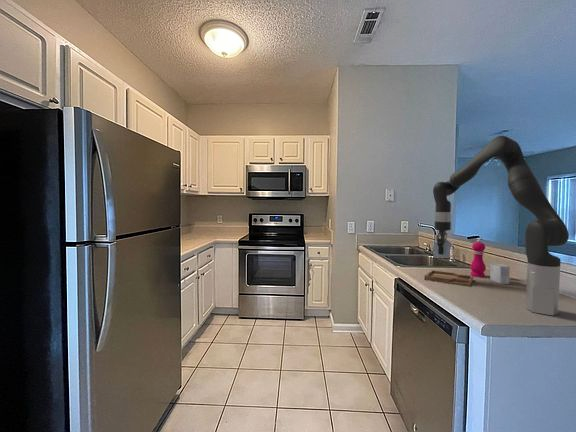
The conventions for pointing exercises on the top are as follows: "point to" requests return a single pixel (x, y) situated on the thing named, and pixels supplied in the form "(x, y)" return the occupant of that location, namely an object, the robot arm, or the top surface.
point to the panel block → (445, 250)
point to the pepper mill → (478, 260)
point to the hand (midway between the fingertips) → (441, 253)
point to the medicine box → (500, 273)
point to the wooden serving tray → (449, 278)
